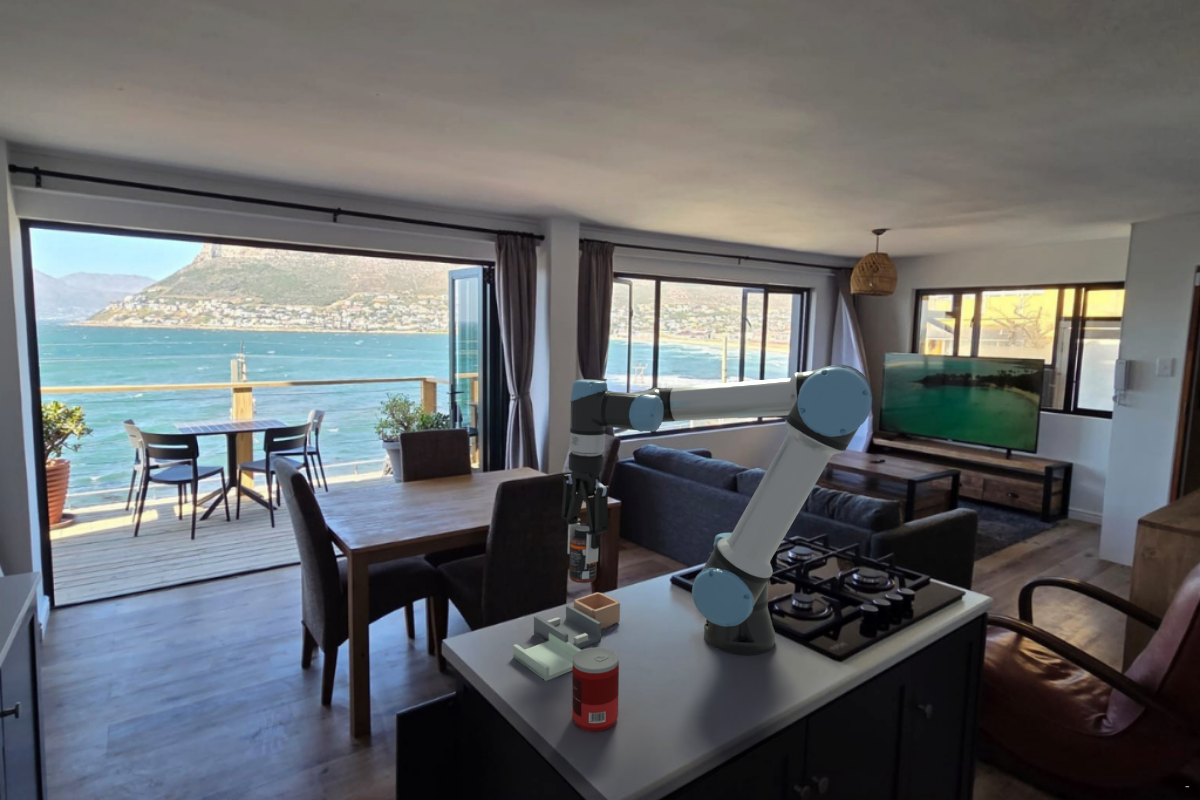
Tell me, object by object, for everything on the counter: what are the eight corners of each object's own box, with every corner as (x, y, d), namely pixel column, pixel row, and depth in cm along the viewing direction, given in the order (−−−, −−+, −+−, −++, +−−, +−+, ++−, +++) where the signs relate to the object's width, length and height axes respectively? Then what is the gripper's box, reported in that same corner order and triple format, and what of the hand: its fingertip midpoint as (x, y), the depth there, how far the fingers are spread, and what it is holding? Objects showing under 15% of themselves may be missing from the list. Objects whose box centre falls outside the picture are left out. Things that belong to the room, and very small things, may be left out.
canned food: (627, 717, 109) (628, 656, 108) (596, 739, 103) (596, 674, 102) (594, 700, 114) (594, 642, 113) (563, 720, 108) (563, 658, 107)
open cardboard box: (620, 622, 145) (621, 602, 145) (594, 632, 140) (594, 611, 140) (598, 611, 151) (599, 591, 151) (572, 620, 146) (572, 600, 146)
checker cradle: (600, 640, 137) (600, 622, 136) (565, 654, 130) (565, 635, 130) (568, 621, 145) (568, 605, 145) (533, 634, 139) (533, 616, 139)
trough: (585, 665, 126) (585, 652, 126) (545, 681, 120) (545, 668, 120) (551, 643, 135) (551, 631, 135) (513, 657, 129) (513, 645, 129)
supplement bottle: (593, 585, 134) (594, 533, 133) (565, 582, 135) (566, 531, 134) (598, 575, 139) (600, 525, 138) (572, 573, 141) (573, 523, 140)
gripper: (547, 446, 139) (543, 547, 142) (600, 462, 124) (595, 575, 127) (574, 443, 144) (570, 541, 146) (629, 458, 129) (623, 567, 132)
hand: (582, 557), depth 137 cm, fingers closed on supplement bottle, 6 cm apart
